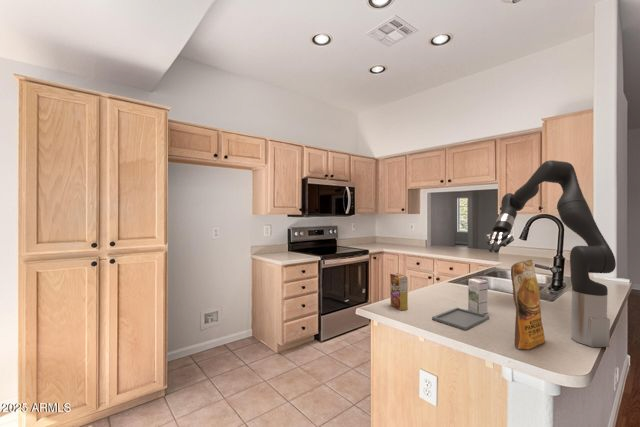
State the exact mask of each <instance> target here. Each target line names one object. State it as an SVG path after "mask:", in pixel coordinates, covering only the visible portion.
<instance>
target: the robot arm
mask: <svg viewBox="0 0 640 427" xmlns="http://www.w3.org/2000/svg"><path fill="white" fill-rule="evenodd" d="M544 182H545V183H554V184H559V185H560V187H561V189H562V194H561V196H560V198H559V199H558V201H557V205H556V208H557V209H556V210H557V212H558V215H559V217H560V220H561V222H562V224H564V225H565V226H566V227H567V228H568V229H569V230H571V231H572V232H573V233H575V234H576V235H578V236H579V237H580V238H581V239H582V240H583V241H584V242H585V243H586V245H575V246H573V247H572V248H571V250H570V253H569V267H570V282H571V326H570V328H571V334H570V335H571V340H573V341H575V342H577V343H579V344H583V345H585V346H589V347H591V348H610V338H611V336H610V334H611V333H610V329H611V328H610V326H611V320H610V318H608V293H609V292H608V290H609V289H608V287H607V286H606V285H605V284H602V283H600V282H596V281H594V280H592V279H591V277H590V274H593V273H594V274H610V273H613V272H614V271H615V269H616V266H617V264H616V257H615V255H614V253H613V250H612V249H611V247H610V246H609V243H608V242H607V241H606V239H605V237H604V235H603V234H602V233H601V230H600V228H599V227H598V225H597V222H596V221H595V218H594V216H593V214H592V212H591V209H590V207H589V205H588V202H587V200H586V198H585V197H584V193H583V192H582V188H581V186H580V183H579V180H578V177H577V173H576V170H575V167H574V166H573V164H571V163H570V162H567V161H559V160H546V161H544V162H543V163H542V164H541V165H540V166H539V167H538V168H537V169H536V170H535V172H533V174H532V175H531V177H530V178H529V179H528V180H527V182H525V183H524V184H523V185H522V186H520V187H519V188H518V189H517V190H516V191H515V192H514V193H511V192H510V193H509V192H508V193H506V194H504V196H502V199H501V205H500V206H501V207H500V208H501V211H500V213H499V214H498V217H497V219H496V221H495V224H494V226H493V228H492V231H491V232H490V233H489V234H487V233H485V234H484V239H485V240H486V243H487V245H488V248H487V249H488V251H489V252H490V253H492V252H493V251H494V253H495V254H497V253H498V252H499V251H500V249H501V248H504V247H507V246H508V245H510V244H511V243H512V242H513V241H515V238H514V236H513V235H510V234H511V232H512V230H513V227H514V224H515V220H516V218H517V214H518V212H519V211H522V210H523V209H524V208H525V206H526V204H527V203H528V201H530V200H532V198H535V196H536V195H537V194H538V193H539V191H540V185H541V184H542V183H544ZM490 239H491V240H490Z"/></svg>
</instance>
